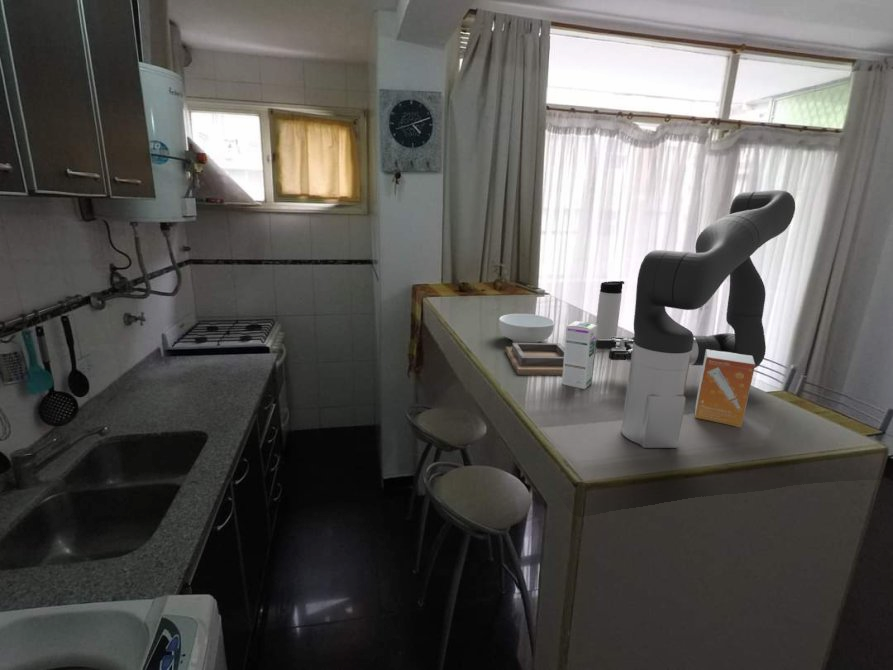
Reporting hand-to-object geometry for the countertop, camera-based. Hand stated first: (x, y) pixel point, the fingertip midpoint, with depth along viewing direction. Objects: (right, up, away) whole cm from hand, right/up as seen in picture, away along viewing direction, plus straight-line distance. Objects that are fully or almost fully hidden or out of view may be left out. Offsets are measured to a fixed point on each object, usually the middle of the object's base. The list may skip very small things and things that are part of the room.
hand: (602, 349), depth 105 cm
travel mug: (+12, 0, +34) cm, 36 cm away
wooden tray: (-11, -4, +16) cm, 20 cm away
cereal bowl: (-12, +1, +37) cm, 39 cm away
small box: (+18, -13, -14) cm, 27 cm away
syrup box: (-6, -8, +2) cm, 10 cm away
